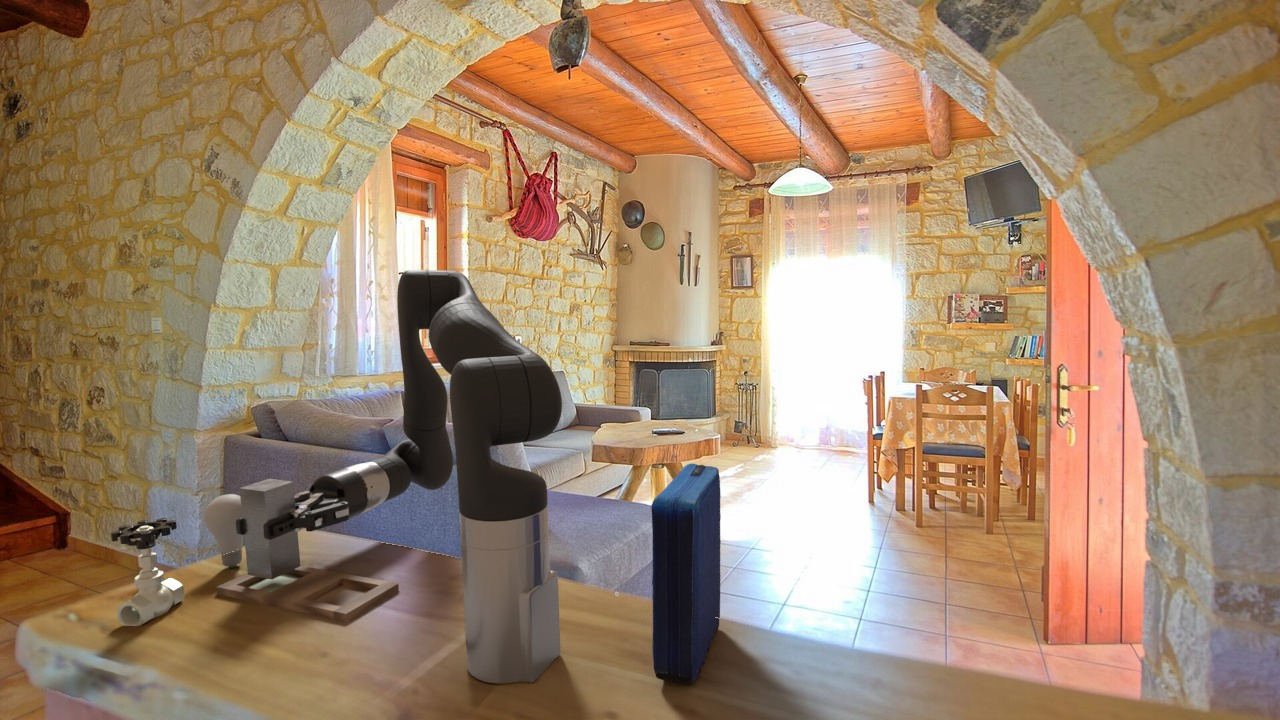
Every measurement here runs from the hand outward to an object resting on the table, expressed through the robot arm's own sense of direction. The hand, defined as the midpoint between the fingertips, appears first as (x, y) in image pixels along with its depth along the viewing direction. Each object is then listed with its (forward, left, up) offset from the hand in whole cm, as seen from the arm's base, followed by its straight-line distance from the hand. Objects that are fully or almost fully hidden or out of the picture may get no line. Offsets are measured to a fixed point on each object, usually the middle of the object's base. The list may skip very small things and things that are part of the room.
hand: (252, 529), depth 90 cm
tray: (-6, -3, -10) cm, 12 cm away
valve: (+8, +8, -10) cm, 15 cm away
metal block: (0, -3, -7) cm, 7 cm away
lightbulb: (+13, -7, -10) cm, 18 cm away
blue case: (-58, -7, -10) cm, 59 cm away
